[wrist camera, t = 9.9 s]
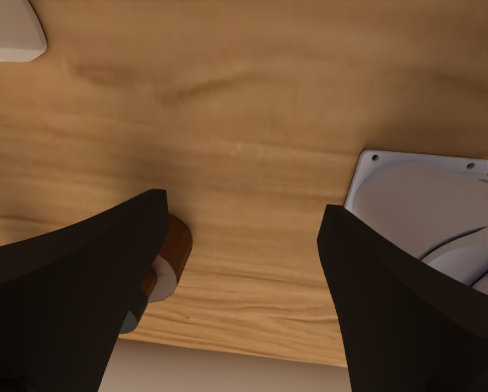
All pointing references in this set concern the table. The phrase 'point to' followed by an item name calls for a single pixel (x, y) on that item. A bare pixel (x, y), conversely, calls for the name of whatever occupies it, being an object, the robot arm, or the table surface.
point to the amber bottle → (168, 262)
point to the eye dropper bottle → (20, 32)
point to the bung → (135, 312)
